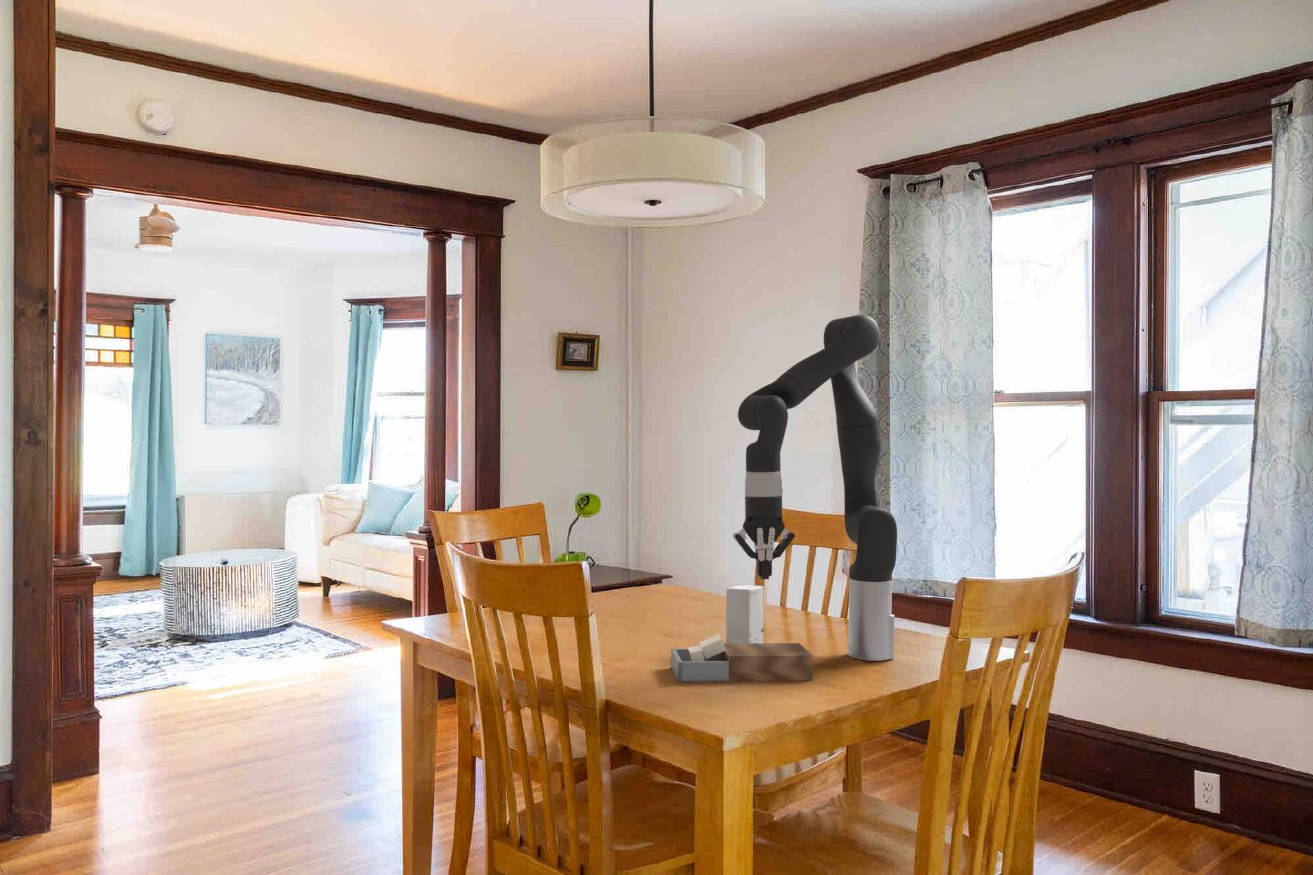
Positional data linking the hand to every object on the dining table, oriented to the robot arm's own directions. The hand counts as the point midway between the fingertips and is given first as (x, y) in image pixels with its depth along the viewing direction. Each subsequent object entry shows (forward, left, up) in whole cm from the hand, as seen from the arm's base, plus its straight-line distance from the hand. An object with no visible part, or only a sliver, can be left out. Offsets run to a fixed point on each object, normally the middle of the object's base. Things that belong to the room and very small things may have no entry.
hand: (764, 578), depth 194 cm
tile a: (+10, -2, -15) cm, 18 cm away
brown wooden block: (0, 0, -20) cm, 20 cm away
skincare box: (0, -19, -20) cm, 27 cm away
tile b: (+12, -1, -16) cm, 20 cm away
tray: (+13, 0, -20) cm, 24 cm away
